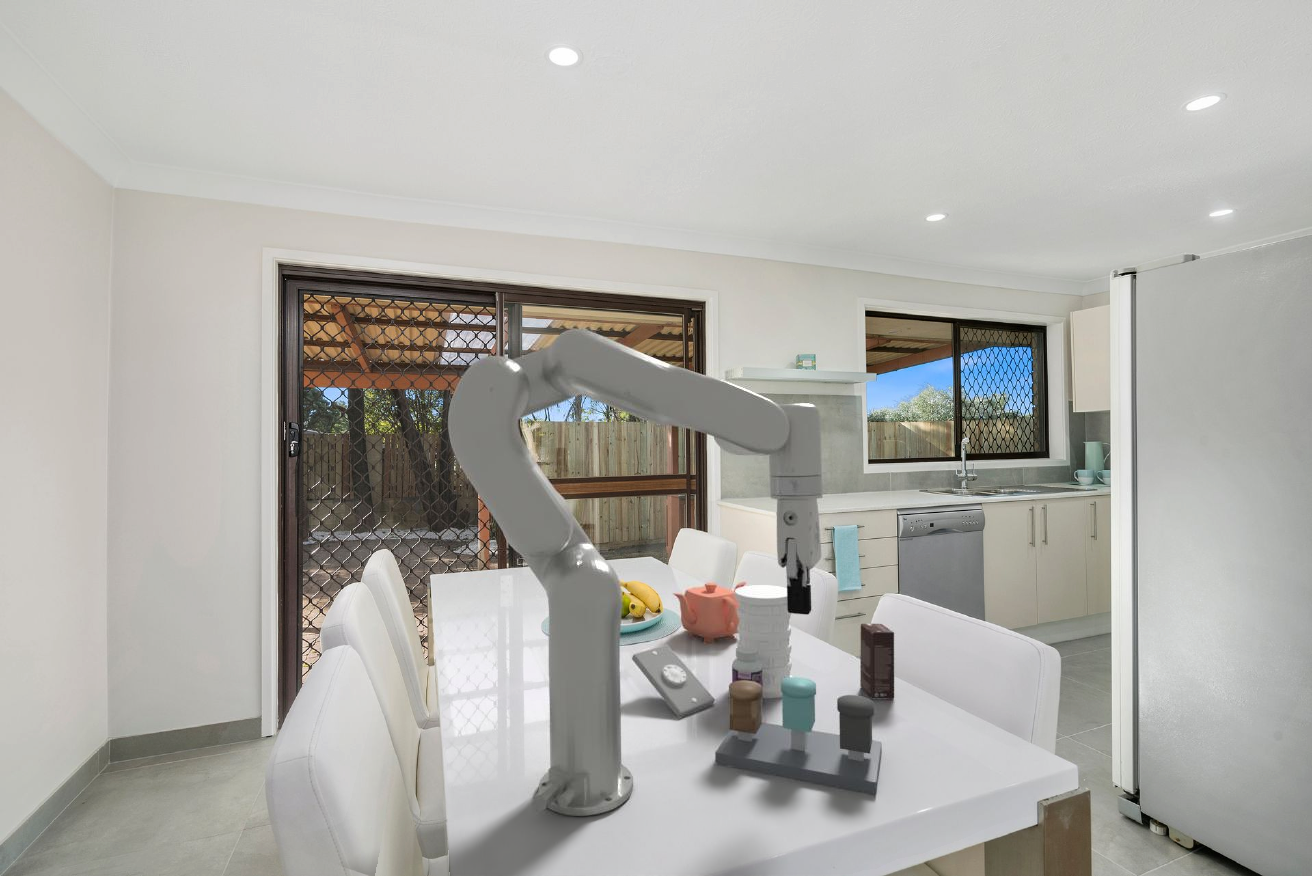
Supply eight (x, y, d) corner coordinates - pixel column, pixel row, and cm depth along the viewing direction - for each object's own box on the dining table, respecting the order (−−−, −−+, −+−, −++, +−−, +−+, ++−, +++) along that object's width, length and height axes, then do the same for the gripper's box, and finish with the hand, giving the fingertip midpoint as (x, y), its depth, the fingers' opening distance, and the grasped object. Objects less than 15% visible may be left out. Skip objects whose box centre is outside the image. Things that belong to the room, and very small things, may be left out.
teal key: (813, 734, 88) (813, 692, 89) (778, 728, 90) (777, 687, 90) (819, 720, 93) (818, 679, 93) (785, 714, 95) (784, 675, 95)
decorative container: (754, 702, 111) (752, 601, 112) (723, 680, 122) (722, 588, 122) (808, 692, 116) (806, 594, 116) (774, 671, 127) (772, 582, 127)
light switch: (682, 709, 105) (634, 650, 115) (671, 735, 107) (625, 674, 117) (717, 695, 111) (668, 640, 120) (706, 720, 113) (659, 663, 122)
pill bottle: (738, 711, 108) (737, 655, 108) (728, 699, 113) (727, 645, 113) (767, 708, 109) (766, 652, 109) (756, 696, 114) (755, 643, 114)
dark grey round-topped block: (873, 755, 85) (872, 711, 85) (835, 749, 87) (835, 706, 87) (876, 739, 90) (875, 698, 90) (840, 734, 92) (839, 693, 92)
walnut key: (758, 736, 92) (757, 695, 92) (725, 730, 94) (724, 690, 94) (766, 722, 96) (765, 682, 96) (734, 716, 98) (734, 678, 98)
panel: (876, 794, 82) (875, 745, 82) (715, 763, 90) (714, 719, 91) (881, 752, 93) (880, 709, 93) (737, 728, 102) (737, 688, 102)
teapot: (673, 644, 145) (672, 589, 145) (688, 624, 161) (688, 575, 161) (737, 649, 141) (736, 593, 141) (747, 628, 156) (746, 577, 157)
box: (896, 699, 112) (895, 632, 112) (871, 700, 112) (870, 632, 112) (883, 686, 118) (881, 622, 118) (859, 687, 118) (858, 623, 118)
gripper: (813, 492, 84) (817, 629, 84) (829, 484, 98) (832, 601, 97) (758, 491, 87) (762, 624, 87) (781, 484, 100) (784, 598, 100)
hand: (799, 612), depth 92 cm, fingers closed
